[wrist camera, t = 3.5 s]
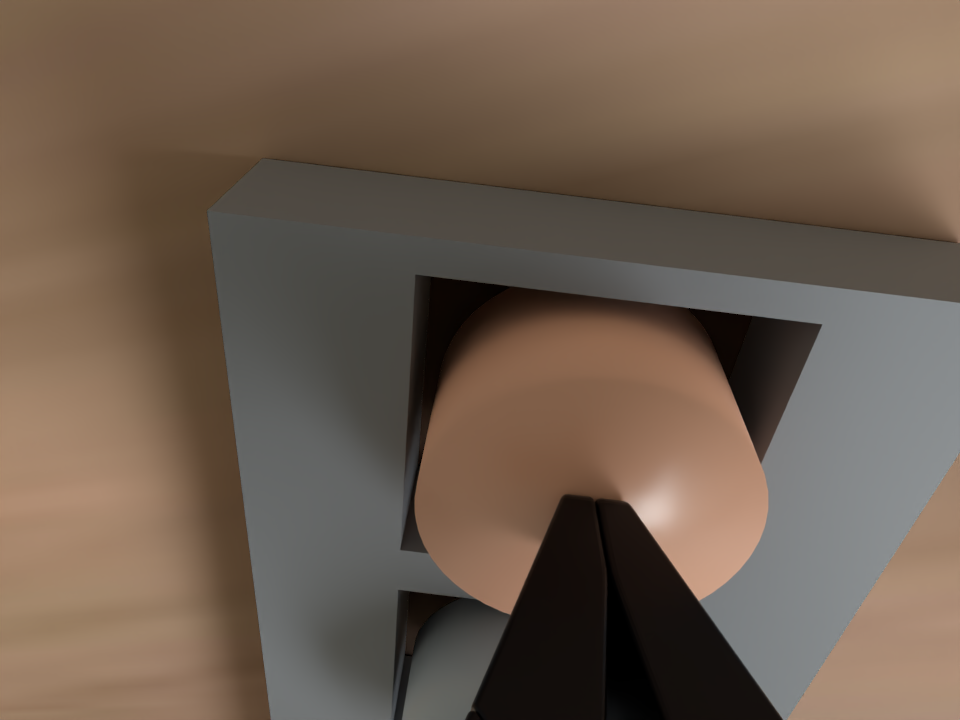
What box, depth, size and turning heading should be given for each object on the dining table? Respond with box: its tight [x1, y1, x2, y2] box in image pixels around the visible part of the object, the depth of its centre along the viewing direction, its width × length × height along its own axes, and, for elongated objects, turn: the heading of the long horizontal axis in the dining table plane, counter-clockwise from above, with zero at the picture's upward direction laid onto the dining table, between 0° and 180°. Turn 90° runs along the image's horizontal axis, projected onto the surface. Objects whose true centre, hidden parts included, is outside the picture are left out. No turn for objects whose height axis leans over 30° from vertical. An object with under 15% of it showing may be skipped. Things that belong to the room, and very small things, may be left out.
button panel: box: [207, 158, 960, 720], centre depth 14 cm, size 18×10×2 cm, turn 174°
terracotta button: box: [415, 286, 768, 615], centre depth 10 cm, size 4×4×3 cm
